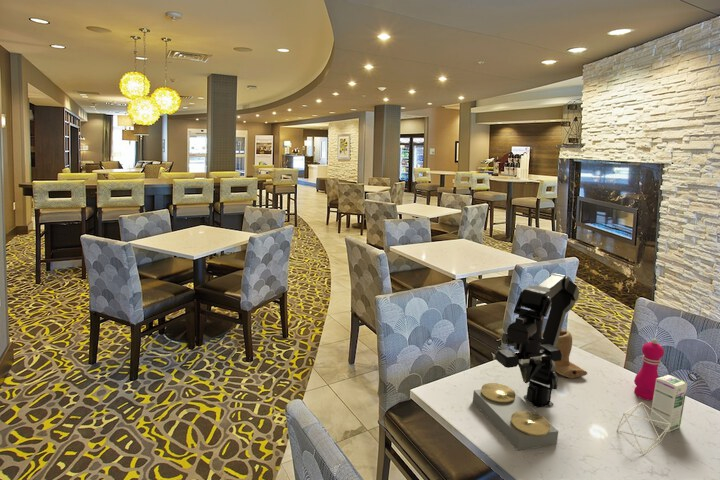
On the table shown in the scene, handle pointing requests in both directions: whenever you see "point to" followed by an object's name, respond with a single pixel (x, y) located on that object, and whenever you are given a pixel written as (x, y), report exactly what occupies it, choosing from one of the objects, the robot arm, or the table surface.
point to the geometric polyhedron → (643, 436)
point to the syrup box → (668, 402)
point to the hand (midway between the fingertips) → (525, 382)
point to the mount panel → (502, 421)
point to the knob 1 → (498, 393)
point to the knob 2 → (530, 423)
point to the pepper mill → (648, 370)
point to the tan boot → (567, 357)
